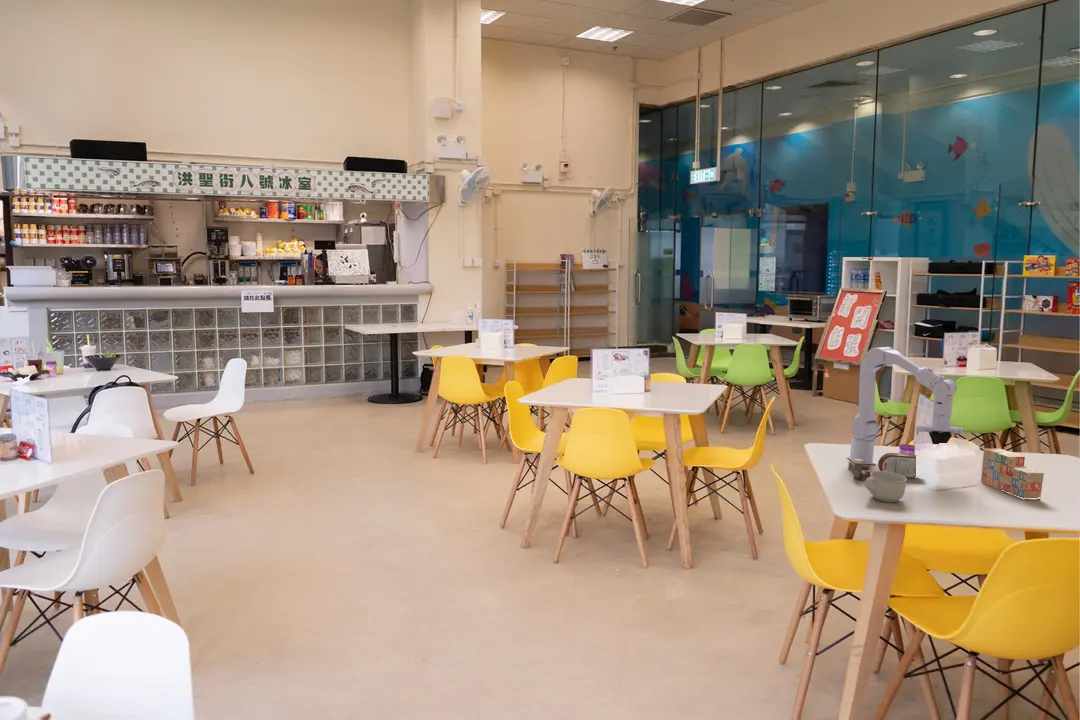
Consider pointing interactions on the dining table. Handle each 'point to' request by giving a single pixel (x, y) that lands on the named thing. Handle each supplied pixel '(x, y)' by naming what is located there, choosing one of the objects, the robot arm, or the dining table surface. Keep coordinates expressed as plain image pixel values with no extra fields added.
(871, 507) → the dining table surface
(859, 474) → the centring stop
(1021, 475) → the stack of blocks
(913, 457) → the tin
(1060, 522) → the dining table surface
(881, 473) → the teacup
